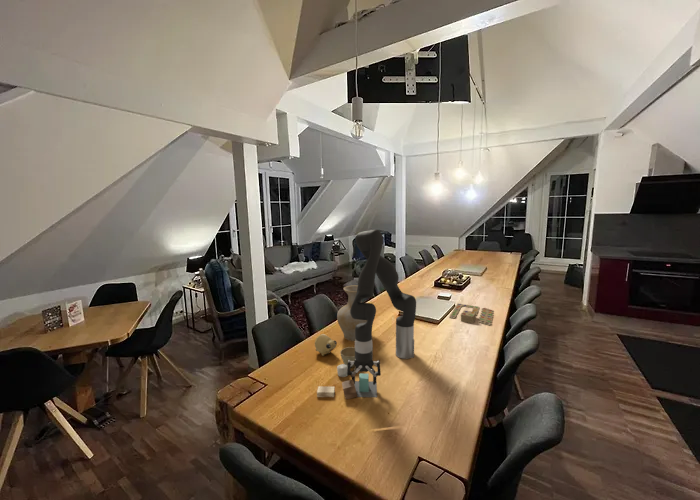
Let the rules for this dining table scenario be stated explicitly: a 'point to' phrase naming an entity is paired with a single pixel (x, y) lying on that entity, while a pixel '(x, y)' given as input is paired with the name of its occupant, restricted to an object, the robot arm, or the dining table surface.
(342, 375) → the grey cylinder
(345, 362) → the flower pot
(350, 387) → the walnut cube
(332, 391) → the beech slab
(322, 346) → the toy pig
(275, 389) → the dining table surface
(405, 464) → the dining table surface
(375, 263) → the robot arm
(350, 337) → the vase
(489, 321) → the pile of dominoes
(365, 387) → the teal block
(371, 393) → the felt mat
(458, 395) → the dining table surface
